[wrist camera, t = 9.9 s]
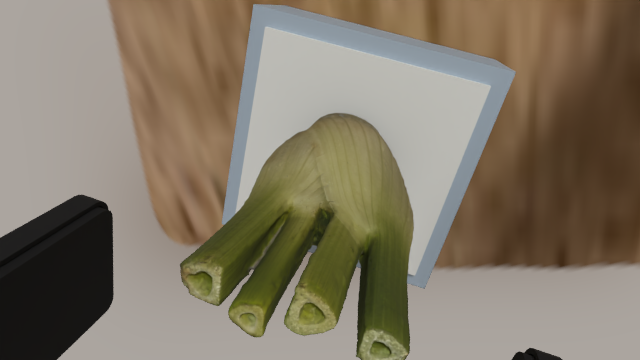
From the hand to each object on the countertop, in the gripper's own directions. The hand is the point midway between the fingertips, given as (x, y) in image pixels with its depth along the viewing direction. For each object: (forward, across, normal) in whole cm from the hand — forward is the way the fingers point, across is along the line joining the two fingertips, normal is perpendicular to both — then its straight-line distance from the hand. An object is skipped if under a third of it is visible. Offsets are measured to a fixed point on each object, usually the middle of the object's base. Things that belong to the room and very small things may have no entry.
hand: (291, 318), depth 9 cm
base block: (+17, +1, +1) cm, 17 cm away
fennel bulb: (+12, +1, +1) cm, 12 cm away
